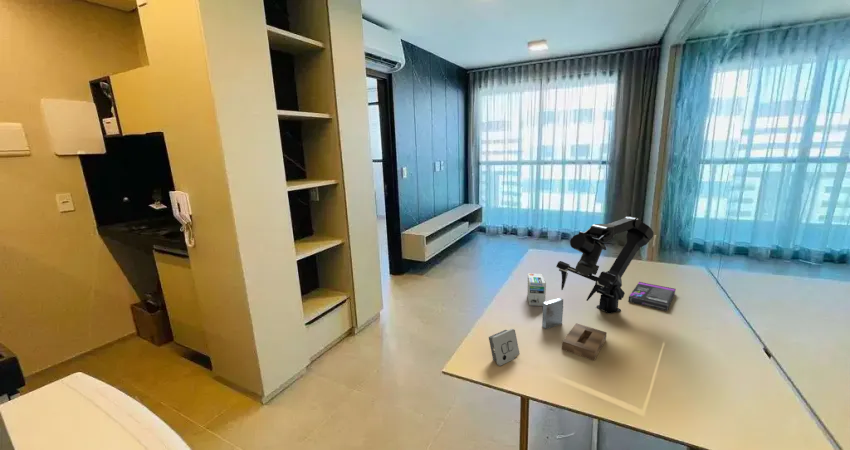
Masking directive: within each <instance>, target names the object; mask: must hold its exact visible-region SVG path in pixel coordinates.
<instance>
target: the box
mask: <svg viewBox="0 0 850 450" xmlns="http://www.w3.org/2000/svg"><path fill="white" fill-rule="evenodd" d="M675 294H676V288H675V287H674V288H673V287H667V286H663V285H657V284H652V283H648V282H647V283H646V282H643V281H638V283H637V285H636V286H635V287H634V289H633V290H632V292H631V293H630V294H629V295H628V301H627V302H628V303H633V304H636V305H641V306H645V307H649V308H653V309H657V310H661V311H665V312H668V310H669V309H670V307H671V304H672V302H673V299H674V297H675Z"/></svg>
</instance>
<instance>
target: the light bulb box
mask: <svg viewBox="0 0 850 450" xmlns="http://www.w3.org/2000/svg"><path fill="white" fill-rule="evenodd" d="M546 288H547V282H546V280H545V277H544V274H543V273H532V272H531V273H530V272H529V273H527V292H526V293H527V294H526V295H527V299H528V300H527V301H528V305H529V306H537V307H543V302H546V294H547V293H546V291H547V289H546Z"/></svg>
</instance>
